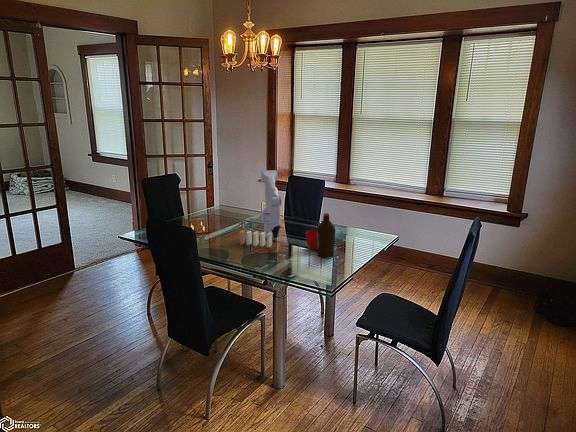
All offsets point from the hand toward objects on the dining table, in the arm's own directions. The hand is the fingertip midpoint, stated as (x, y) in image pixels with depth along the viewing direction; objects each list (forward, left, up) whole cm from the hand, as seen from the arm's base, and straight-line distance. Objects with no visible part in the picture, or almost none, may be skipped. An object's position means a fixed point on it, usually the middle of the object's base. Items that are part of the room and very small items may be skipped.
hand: (275, 237), depth 250 cm
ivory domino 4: (+3, -3, -6) cm, 7 cm away
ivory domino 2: (+9, -9, -6) cm, 14 cm away
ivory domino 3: (+6, -6, -6) cm, 10 cm away
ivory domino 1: (+12, -12, -6) cm, 18 cm away
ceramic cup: (-20, +14, -6) cm, 25 cm away
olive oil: (-18, +28, -6) cm, 34 cm away
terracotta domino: (+16, -16, -6) cm, 23 cm away
